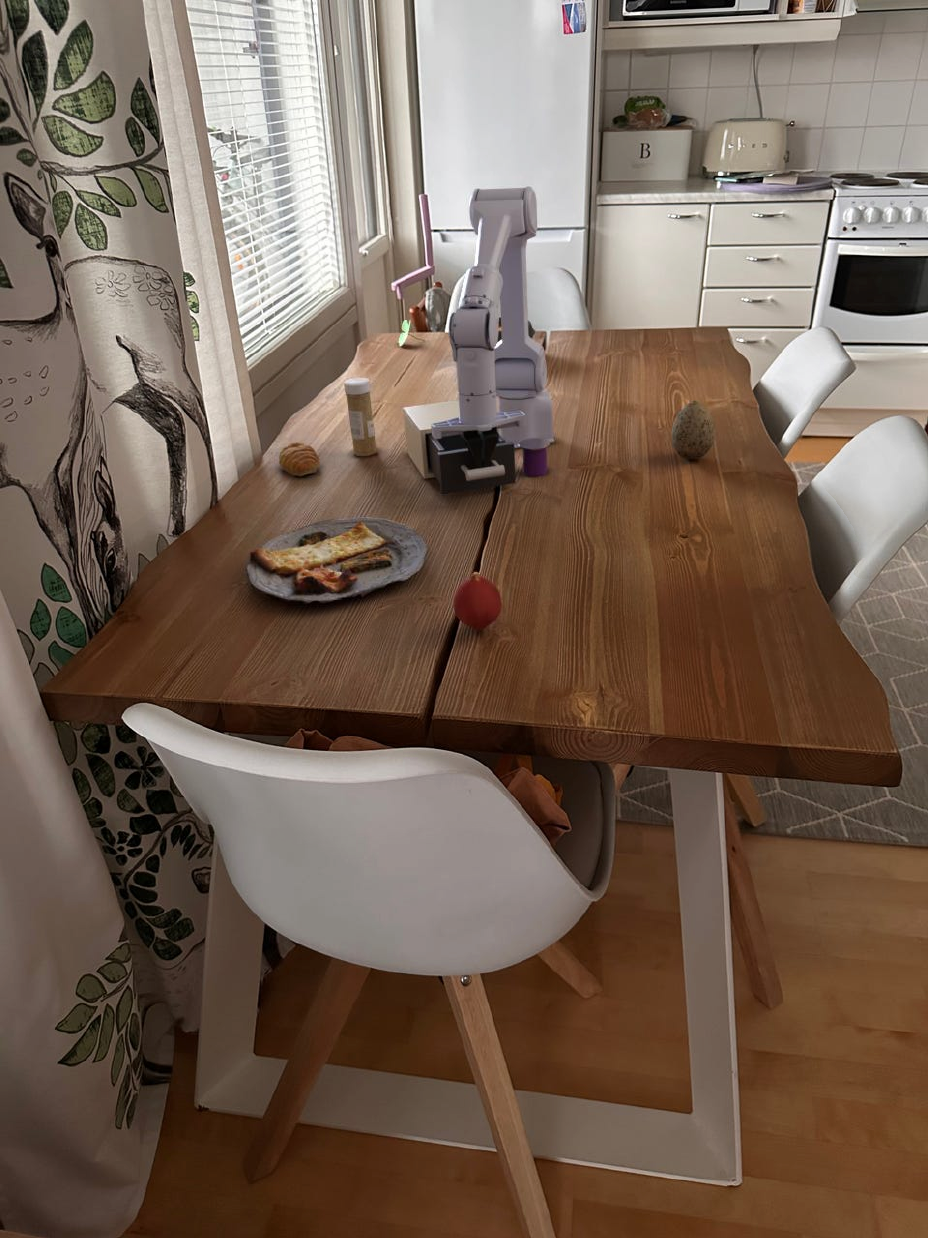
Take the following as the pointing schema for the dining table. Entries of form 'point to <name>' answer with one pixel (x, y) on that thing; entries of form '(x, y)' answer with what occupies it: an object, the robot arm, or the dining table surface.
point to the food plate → (336, 559)
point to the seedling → (405, 328)
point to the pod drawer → (468, 465)
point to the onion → (477, 602)
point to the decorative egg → (693, 431)
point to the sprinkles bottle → (360, 416)
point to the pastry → (299, 459)
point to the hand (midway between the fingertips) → (481, 475)
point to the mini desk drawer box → (425, 429)
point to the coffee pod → (534, 456)
